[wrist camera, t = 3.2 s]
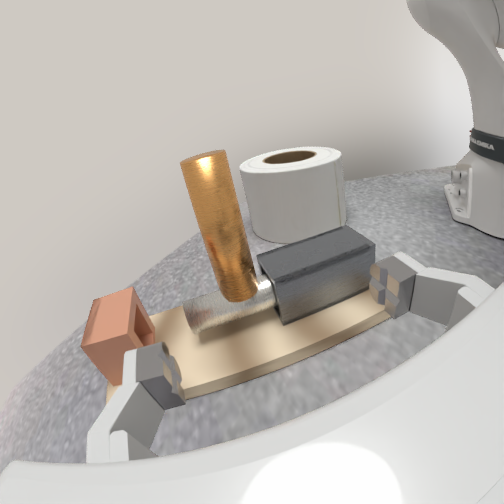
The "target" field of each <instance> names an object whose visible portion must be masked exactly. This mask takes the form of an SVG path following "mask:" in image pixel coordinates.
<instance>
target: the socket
mask: <svg viewBox="0 0 504 504" xmlns="http://www.w3.org/2000/svg"><path fill="white" fill-rule="evenodd" d="M152 344H155V326H154V325H153V323H152V321H151V319H150V318H149V316H148V314H147V312H146V310H145V308H144V307H143V305H142V303H141V301H140V299H139V297H138V295H137V293H136V291H135V289H134V288H133V287H130V288H127V289H124V290H121V291H118V292H116V293H112V294H110V295H107V296H104V297H101V298H98V299H95V300H93V304H92V307H91V310H90V314H89V317H88V321H87V324H86V328H85V331H84V335H83V339H82V343H81V348H82V349H83V351H84V352H85V353H86V354H87V356H88V357H89V358H90V359H91V361H92V362H93V363H94V364H95V366H96V367H97V368H98V369H99V370H100V372H101V373H102V374H103V375H104V376H105V377H106V379H107V380H108V381H109V382H110V383H111V384H112V385H113V386H117V385H121V384H122V378H123V362H124V354H125V352H126V351H129V350H133V349H138V348H140V347H144V346H148V345H152Z"/></svg>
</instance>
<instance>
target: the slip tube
mask: <svg viewBox="0 0 504 504" xmlns="http://www.w3.org/2000/svg"><path fill="white" fill-rule="evenodd" d="M180 165H181V169H182V172H183V175H184V179H185V182H186V186H187V189H188V192H189V196H190V199H191V202H192V206H193V209H194V212H195V215H196V218H197V222H198V225H199V228H200V231H201V234H202V237H203V241H204V244H205V247H206V250H207V253H208V256H209V259H210V262H211V265H212V268H213V271H214V274H215V277H216V280H217V283H218V286H219V288H220V290H217V291H214V292H211V293H208V294H205V295H202V296H199V297H196V298H193V299H190V300H187V301H184V302H183V309H184V313H185V316H186V319H187V322H188V324H189V327H190V329H191V331H192V333H193V334H197V333H200V332H203V331H206V330H209V329H212V328H215V327H218V326H221V325H224V324H227V323H230V322H233V321H236V320H239V319H242V318H244V317H247V316H250V315H253V314H256V313H258V312H261V311H264V310H267V309H269V308H272V307H275V306H277V305H278V303H277V298H276V293H275V288H274V284H273V283H272V281H271V280H270V278H269V277H268V275H267V274H263V275H260V276H258V277H256V273H255V269H254V265H253V261H252V257H251V253H250V249H249V245H248V241H247V237H246V233H245V229H244V225H243V221H242V217H241V213H240V209H239V204H238V201H237V196H236V192H235V188H234V184H233V180H232V176H231V172H230V168H229V164H228V160H227V156H226V152H225V150H216V151H211V152H207V153H203V154H199V155H196V156H193V157H191V158H188V159H186V160H183V161H182V162H180Z"/></svg>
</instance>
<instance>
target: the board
mask: <svg viewBox="0 0 504 504" xmlns="http://www.w3.org/2000/svg"><path fill="white" fill-rule="evenodd" d="M390 317H391V316H390V315H389V314H388V313H387V312H386V311H385V310H384V305H381V304H377V303H376V302H375V301H374V299H373V298H372V296H371V293H370V290H367V291H365V292H363V293H360V294H358V295H356V296H354V297H352V298H350V299H347V300H345V301H343V302H341V303H338V304H336V305H334V306H331V307H329V308H327V309H325V310H322V311H320V312H317V313H315V314H313V315H310V316H308V317H305V318H303V319H300V320H298V321H295V322H293V323H290V324H288V325H285V326H283V324H282V323H281V321H280V319H279V317H278V316H277V314H276V312H275V311H274V309H273V307H272V308H269V309H267V310H264V311H261V312H258V313H256V314H253V315H250V316H247V317H244V318H242V319H239V320H236V321H233V322H230V323H227V324H224V325H221V326H218V327H215V328H212V329H209V330H206V331H203V332H200V333H197V334H193V333H192V331H191V329H190V327H189V324H188V322H187V319H186V316H185V313H184V309H183V306H179V307H176V308H173V309H170V310H167V311H164V312H161V313H158V314H155V315H151V316H149V318H150V319H151V321H152V323H153V325H154V326H155V343H159V342H165V344H166V345H167V347H168V348H169V355H171V356H173V357H174V358H175V360H176V361H177V363H178V366H179V368H180V372H181V376H182V381H181V383H180V385H181V387H182V388H183V389H184V395H185V400H187V399H191V398H194V397H198V396H201V395H205V394H208V393H212V392H215V391H218V390H221V389H225V388H228V387H231V386H234V385H237V384H240V383H243V382H246V381H249V380H252V379H254V378H257V377H260V376H263V375H265V374H268V373H271V372H273V371H276V370H279V369H281V368H284V367H286V366H289V365H291V364H294V363H296V362H298V361H301V360H303V359H306V358H308V357H310V356H313V355H315V354H317V353H319V352H322V351H324V350H326V349H328V348H330V347H333V346H335V345H337V344H339V343H341V342H343V341H345V340H347V339H349V338H351V337H353V336H355V335H357V334H359V333H361V332H363V331H365V330H367V329H369V328H371V327H373V326H375V325H377V324H379V323H381V322H382V321H384V320H386V319H388V318H390ZM120 386H122V384H121V385H117V386H113V385H112V384H111V383H110V382H109V381H108V385H107V397H106V405H107V403H108V402H109V400H110V399H111V397H112V396H113V394H114V393H115V392H116V390H117V389H118V387H120Z"/></svg>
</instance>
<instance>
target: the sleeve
mask: <svg viewBox="0 0 504 504" xmlns="http://www.w3.org/2000/svg"><path fill="white" fill-rule="evenodd" d="M256 256H257V260H258V264H259V268H260V273H261V275H263V274H267V275H268V277H269V278H270V280H271V281H272V283H273V284H274V288H275V293H276V298H277V303H278V305H277V306H275V307H273V309H274V311H275V312H276V314H277V316H278V317H279V319H280V321H281V323H282V324H283V326H285V325H288V324H290V323H293V322H295V321H298V320H300V319H303V318H305V317H308V316H310V315H313V314H315V313H317V312H320V311H322V310H325V309H327V308H329V307H331V306H334V305H336V304H338V303H341V302H343V301H345V300H347V299H350V298H352V297H354V296H356V295H358V294H360V293H363V292H365V291H367V290H369V282H370V281H371V279H372V276H371V275H370V267H371V265H372V264H374V263H375V243H373V242H372V241H370V240H369V239H367V238H366V237H364V236H363V235H361V234H359V233H358V232H356V231H355V230H353V229H352V228H350V227H349V226H347V225H344V226H341V227H338V228H335V229H332V230H329V231H326V232H324V233H321V234H318V235H315V236H312V237H309V238H306V239H303V240H300V241H297V242H294V243H291V244H288V245H285V246H282V247H279V248H277V249H274V250H271V251H268V252H265V253H262V254H259V255H256Z"/></svg>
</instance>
